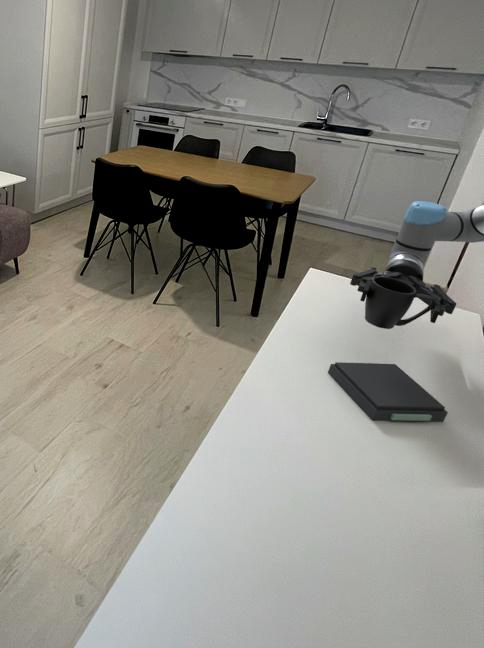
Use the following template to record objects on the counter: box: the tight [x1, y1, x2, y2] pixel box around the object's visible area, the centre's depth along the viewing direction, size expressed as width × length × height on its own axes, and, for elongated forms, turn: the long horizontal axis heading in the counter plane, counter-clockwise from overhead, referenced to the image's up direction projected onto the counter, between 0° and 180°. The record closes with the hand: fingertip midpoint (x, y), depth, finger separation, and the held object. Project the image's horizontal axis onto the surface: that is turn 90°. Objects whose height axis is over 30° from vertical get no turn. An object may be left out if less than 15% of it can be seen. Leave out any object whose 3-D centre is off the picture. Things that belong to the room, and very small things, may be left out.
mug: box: [364, 277, 436, 330], centre depth 108 cm, size 8×12×10 cm
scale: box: [327, 361, 449, 423], centre depth 104 cm, size 16×15×3 cm
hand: (398, 306), depth 105 cm, fingers closed on mug, 12 cm apart
